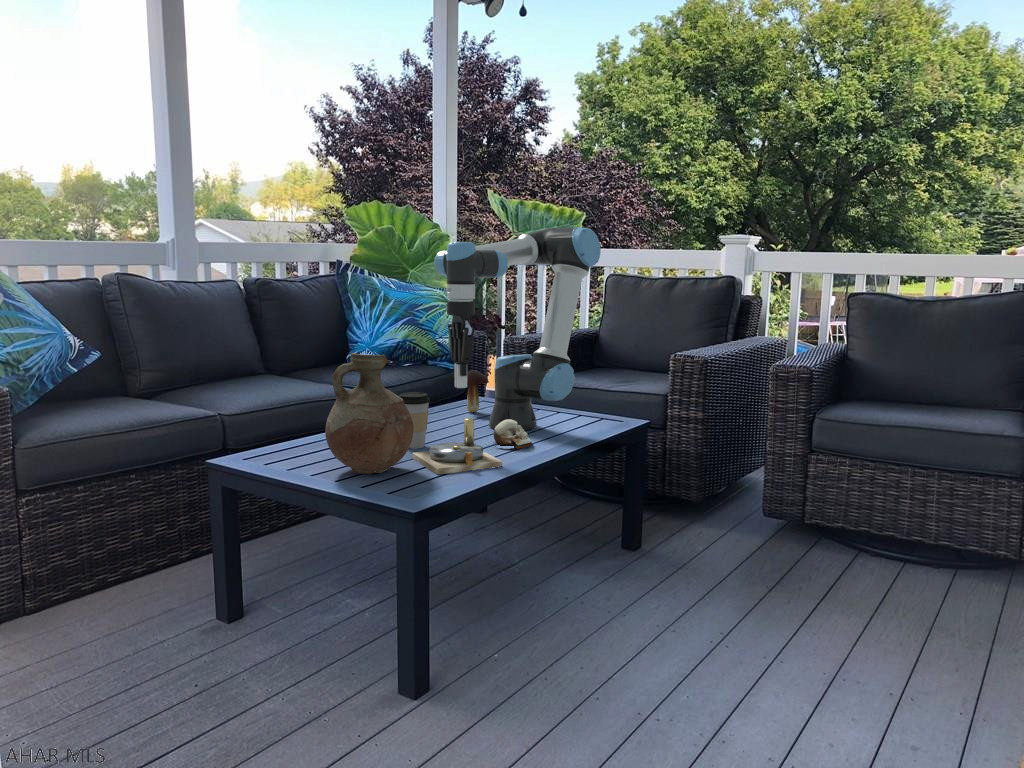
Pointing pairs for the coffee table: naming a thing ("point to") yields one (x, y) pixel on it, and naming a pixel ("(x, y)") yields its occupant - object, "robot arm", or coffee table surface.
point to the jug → (367, 419)
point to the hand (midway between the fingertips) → (460, 387)
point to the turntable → (458, 447)
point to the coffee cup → (417, 416)
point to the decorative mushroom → (474, 389)
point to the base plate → (450, 467)
